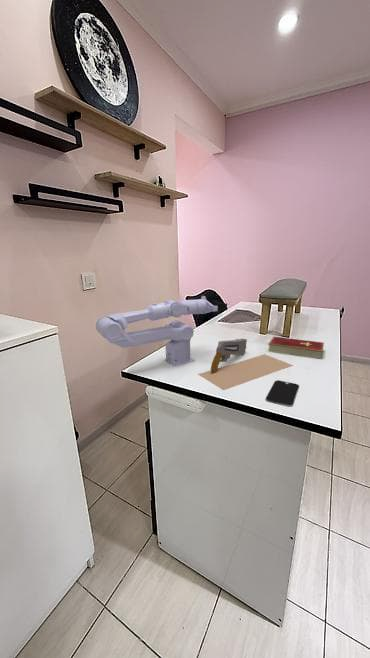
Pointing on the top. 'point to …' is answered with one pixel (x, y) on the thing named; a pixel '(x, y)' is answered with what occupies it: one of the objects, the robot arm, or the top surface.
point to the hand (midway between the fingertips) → (220, 304)
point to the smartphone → (282, 393)
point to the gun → (228, 351)
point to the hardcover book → (296, 347)
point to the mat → (244, 371)
